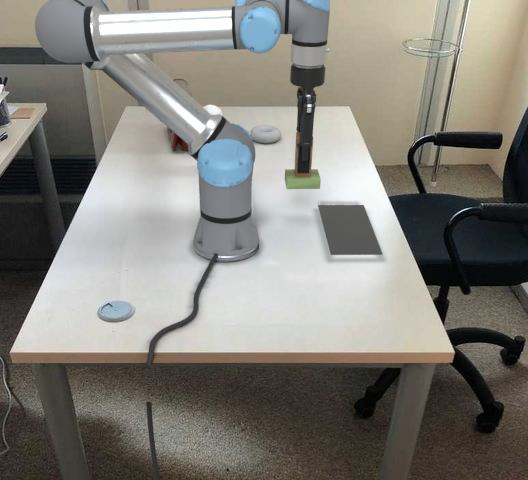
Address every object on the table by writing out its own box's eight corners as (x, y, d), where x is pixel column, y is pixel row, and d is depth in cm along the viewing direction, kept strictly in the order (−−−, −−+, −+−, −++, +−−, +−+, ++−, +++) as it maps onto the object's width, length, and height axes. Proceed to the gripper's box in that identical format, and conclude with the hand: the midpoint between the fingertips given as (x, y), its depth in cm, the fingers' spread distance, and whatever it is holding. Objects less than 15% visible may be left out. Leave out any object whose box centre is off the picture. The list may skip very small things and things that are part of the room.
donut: (272, 132, 214) (245, 136, 210) (273, 122, 212) (245, 125, 208) (286, 142, 207) (257, 146, 203) (286, 132, 205) (258, 135, 201)
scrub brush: (319, 189, 154) (323, 139, 147) (286, 189, 154) (288, 139, 146) (317, 178, 159) (320, 130, 151) (284, 179, 158) (286, 130, 151)
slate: (382, 260, 148) (383, 254, 148) (330, 260, 148) (330, 254, 147) (363, 210, 169) (363, 204, 168) (317, 210, 168) (317, 204, 167)
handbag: (162, 125, 217) (158, 70, 206) (194, 124, 219) (191, 69, 208) (169, 156, 195) (165, 97, 185) (204, 154, 197) (202, 96, 186)
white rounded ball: (205, 137, 216) (190, 117, 212) (219, 123, 219) (205, 103, 215) (217, 131, 210) (201, 111, 206) (231, 117, 213) (216, 96, 209)
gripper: (330, 75, 133) (322, 183, 148) (321, 54, 146) (314, 155, 161) (294, 75, 133) (289, 183, 147) (288, 54, 146) (284, 155, 160)
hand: (302, 168), depth 154 cm, fingers closed on scrub brush, 4 cm apart
